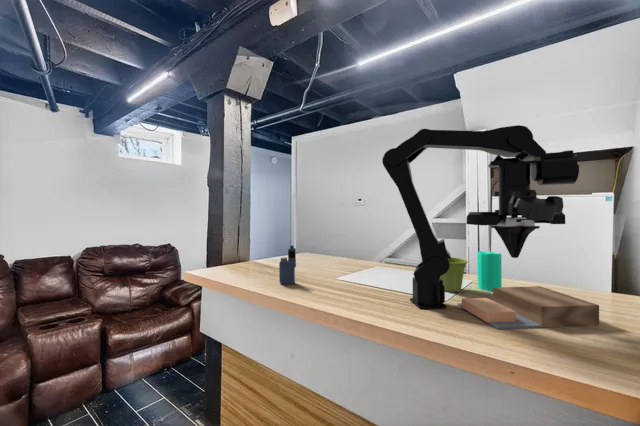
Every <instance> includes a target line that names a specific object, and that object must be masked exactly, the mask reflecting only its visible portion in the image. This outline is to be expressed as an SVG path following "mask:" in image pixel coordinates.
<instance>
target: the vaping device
mask: <svg viewBox="0 0 640 426" xmlns="http://www.w3.org/2000/svg"><path fill="white" fill-rule="evenodd" d="M287 250H288V251H287V254H288V255H287V257H283V256H282V257H280V261H279V265H278V267H279V271H278V272H279V276H278V277H279V279H278V280H279V284H280V285H295V284H296V274H295V273H296V270H295V269H296V267H297V260H296V258H297V257H296V255H297V251H296V247H295V248H294V245H289V248H288V249H287Z"/></svg>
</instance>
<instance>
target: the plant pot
mask: <svg viewBox="0 0 640 426" xmlns="http://www.w3.org/2000/svg"><path fill="white" fill-rule="evenodd" d="M449 263H450V267H449V269H448V271H447V272H446V273H445V274H444V275H441V276H440V279H442V280H443V285H444V286H445V292H449V293H454V292H459V293H460V292H461V291H462V287H463V286H462V285H463V279H464V275H465V268H466V267H467V266H466V265H467V264H468V263H469V261H468V260H467V259H464V258H459V257H452V256H451V259H449Z"/></svg>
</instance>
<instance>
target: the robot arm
mask: <svg viewBox="0 0 640 426" xmlns="http://www.w3.org/2000/svg"><path fill="white" fill-rule="evenodd" d="M429 148H431V149H449V150H451V149H452V150H468V151H469V150H471V151H481V152H485V153H489V154H492V155H494V156H495V158H494V159H493V161H492V162H490V163H489V164H488V168H492V169H493V168H498V191H495V192H494V197H498V209H494V211H469V213H468V214H467V216H466V225H472V226H473V225H474V226H490V228H492V229H494V230H495V231H496V233H497V234H498V235H499V238H501V241H502V242H503V245H504V246H505V247H506V250H507V251H508V253H509V256H510V257H511V258H514V259H518V258H519V256H520V255H521V252H522V250H523V248H524V247H523V246H524V245H525V243H526V241H527V238H528V236H529V235H530V234H531V233H532V232H533V231H535V230H537V229H540V228H541V226H539V225H536V224H551V225H566V214H564V212H563V211H564V200H563V199H564V198H563V197H562V196H558V195H549V196H547V197H546V198H539V197H538V196H537V192H536V189H531V180H532V181H533V182H536V183H537V184H538V185H539V186H553V185H555V186H556V185H574V184H576V182H577V180H578V178H579V175H580V174H579V173H580V164H578V160H577V158H576V156H574V150H572V149H570V150H563V151H558V152H557V151H556V152H547V151H546V150H545V149H544V148H543V147H542V146H541V145H540V144H539V143H538V142H537V141H536V140H535V139H534V135H533V133H532V131H531V130H530V129H529V127H528V126H525V125H519V124H517V125H510V126H509V125H508V126H502V127H497V128H493V129H489V130H454V129H453V130H452V129H451V130H450V129H447V130H446V129H429V128H421V129H420V130H418V131H417V132H416V133H415V134H414V135H412V136H411V137H409V138H408V139H406V140H405V141H403V142H401V143H400V144H399V145H398V146H396V147H394V148H389V149H388V150H387V151H386V152H385V153H384V154H383V157H382V165H383V167H384V169H385V171H386V172H387V173H388V175H389V176H390V178H391V180H392V181H393V182H394V184H395V185H396V187H397V189H398V191H399V194H400V196H401V199H402V201H403V204H404V206H405V209H406V211H407V214H408V217H409V219H410V222H411V224H412V227H413V229H414V232H415V234H416V236H417V239H418V245H419V252H420V256H421V262H420V263H419V264H418V265H416V267H415V269H414V272H413V277H412V297H410V298H409V301H411V302H412V303H413V305H414V306H415V305H416V307H418V308H419V309H445V308H447V304H445V301H446V298H445V297H446V295H445V294H446V291H445V286H444V285H443V280H442V279H440V276H441V275H444V274H445V273H446V272H447V271H448V269H449V267H450V263H449V259H451V257H452V256H451V253H450V252H449V251H448V250H447V246H446V243H445V239H444V238H443V239H441V240H438V238H437V236H436V235H435V234H434V232H433V229H432V226H431V225H430V224H431V223H430V222H429V219H428V217H427V214H426V211H425V209H424V207H423V205H422V202H421V200H420V198H419V195H418V192H417V190H416V188H415V185H414V181H413V175H412V169H411V165H410V164H411V163H412V162H413V161H414V160H416V159H417V158H418V157H419V156H420V155H421V154H422V153H423V152H424V151H425V150H427V149H429Z"/></svg>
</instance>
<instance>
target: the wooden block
mask: <svg viewBox="0 0 640 426" xmlns="http://www.w3.org/2000/svg"><path fill="white" fill-rule="evenodd" d="M492 293H493V294H492V301H494V302H497V303H499V304H501V305H503V306H505V307H507V308H509V309H512V310H514V311H516V313H517V314H519V315H521V316H523V317H525V318H527V319H529V320H531V321H533V322H536V323H538V324H540V325H542V327H541V328H562V327H563V328H565V327H588V326H589V327H593V326H600V305H599V304H596V303H593V302H590V301H587V300H584V299H580V298H578V297H575V296H572V295H569V294H565V293H561V292H558V291H556V290H552V289H550V288H546V287H543V286H540V285H536V286H535V285H533V286H505V287H504V286H502V287H493V291H492Z"/></svg>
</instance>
